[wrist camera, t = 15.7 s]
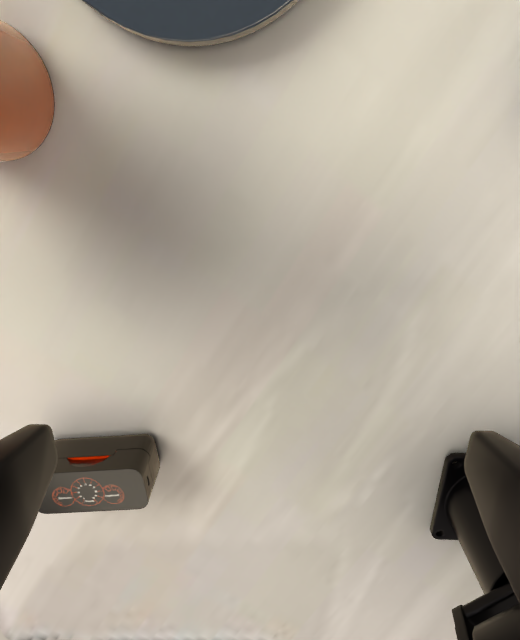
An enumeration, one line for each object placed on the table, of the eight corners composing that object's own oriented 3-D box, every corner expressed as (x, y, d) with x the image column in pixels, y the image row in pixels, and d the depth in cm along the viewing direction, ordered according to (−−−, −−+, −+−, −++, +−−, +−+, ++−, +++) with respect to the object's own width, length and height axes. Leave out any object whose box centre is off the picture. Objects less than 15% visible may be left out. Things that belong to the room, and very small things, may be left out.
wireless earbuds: (37, 436, 25) (6, 475, 22) (155, 429, 25) (140, 468, 22) (58, 495, 27) (31, 539, 24) (168, 489, 27) (156, 534, 24)
